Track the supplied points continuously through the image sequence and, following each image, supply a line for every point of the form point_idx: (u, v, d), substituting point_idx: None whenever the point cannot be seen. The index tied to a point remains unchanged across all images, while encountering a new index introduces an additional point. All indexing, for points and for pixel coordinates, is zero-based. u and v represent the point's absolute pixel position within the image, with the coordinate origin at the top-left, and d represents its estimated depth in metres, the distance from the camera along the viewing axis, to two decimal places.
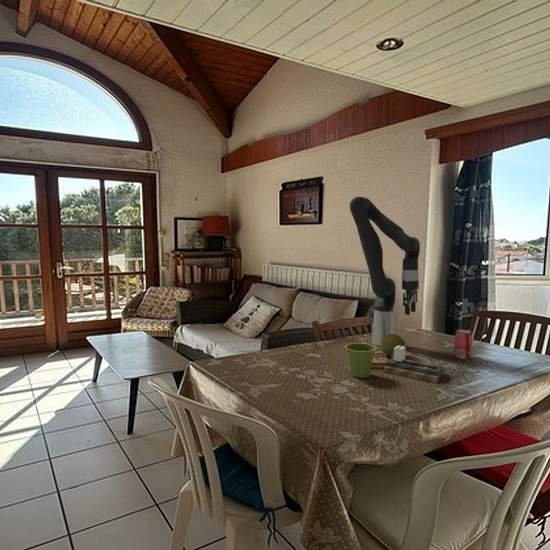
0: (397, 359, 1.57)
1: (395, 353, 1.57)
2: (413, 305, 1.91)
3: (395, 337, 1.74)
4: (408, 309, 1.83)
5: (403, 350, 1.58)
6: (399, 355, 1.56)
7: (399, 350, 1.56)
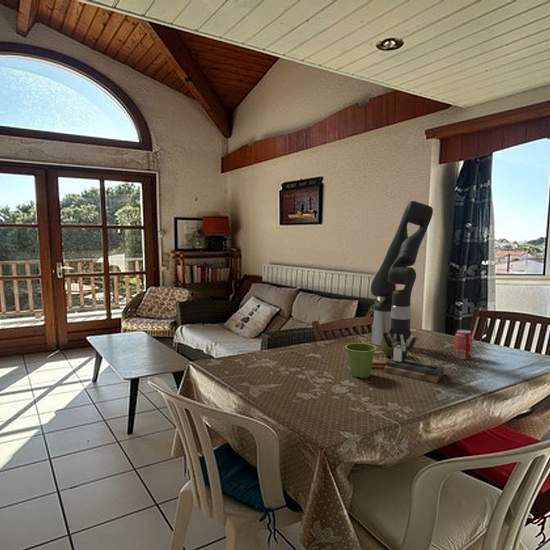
0: (397, 359, 1.57)
1: (395, 353, 1.57)
2: None
3: None
4: None
5: None
6: (399, 355, 1.56)
7: (399, 350, 1.56)
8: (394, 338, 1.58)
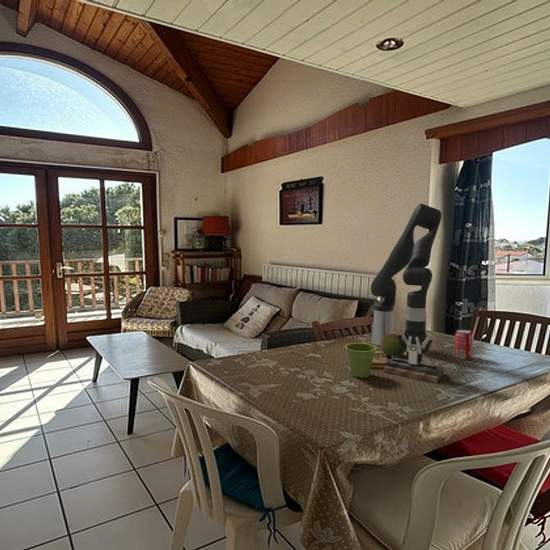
0: (412, 362, 1.53)
1: (410, 356, 1.53)
2: None
3: (395, 337, 1.74)
4: None
5: None
6: (414, 358, 1.53)
7: (414, 353, 1.52)
8: (409, 340, 1.54)
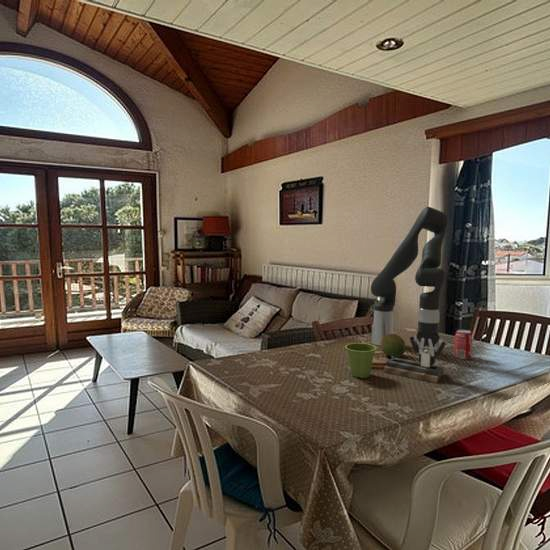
0: (425, 364, 1.50)
1: (423, 358, 1.51)
2: None
3: (395, 337, 1.74)
4: None
5: None
6: (427, 360, 1.50)
7: (427, 355, 1.50)
8: (422, 342, 1.51)
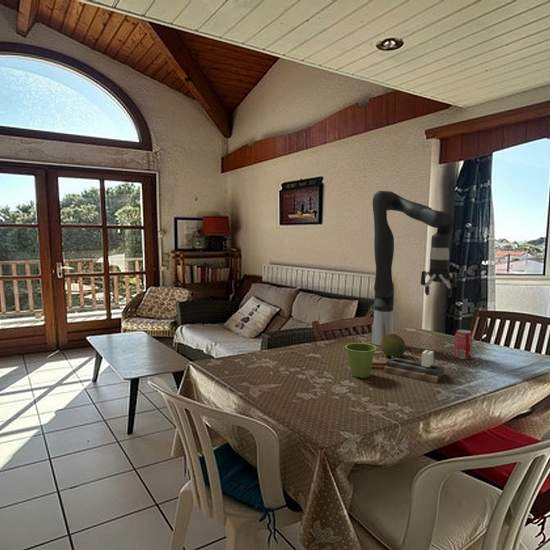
0: (425, 364, 1.50)
1: (423, 358, 1.50)
2: (428, 287, 1.72)
3: (395, 337, 1.74)
4: None
5: (431, 355, 1.51)
6: (427, 360, 1.50)
7: (428, 355, 1.49)
8: (432, 278, 1.69)
